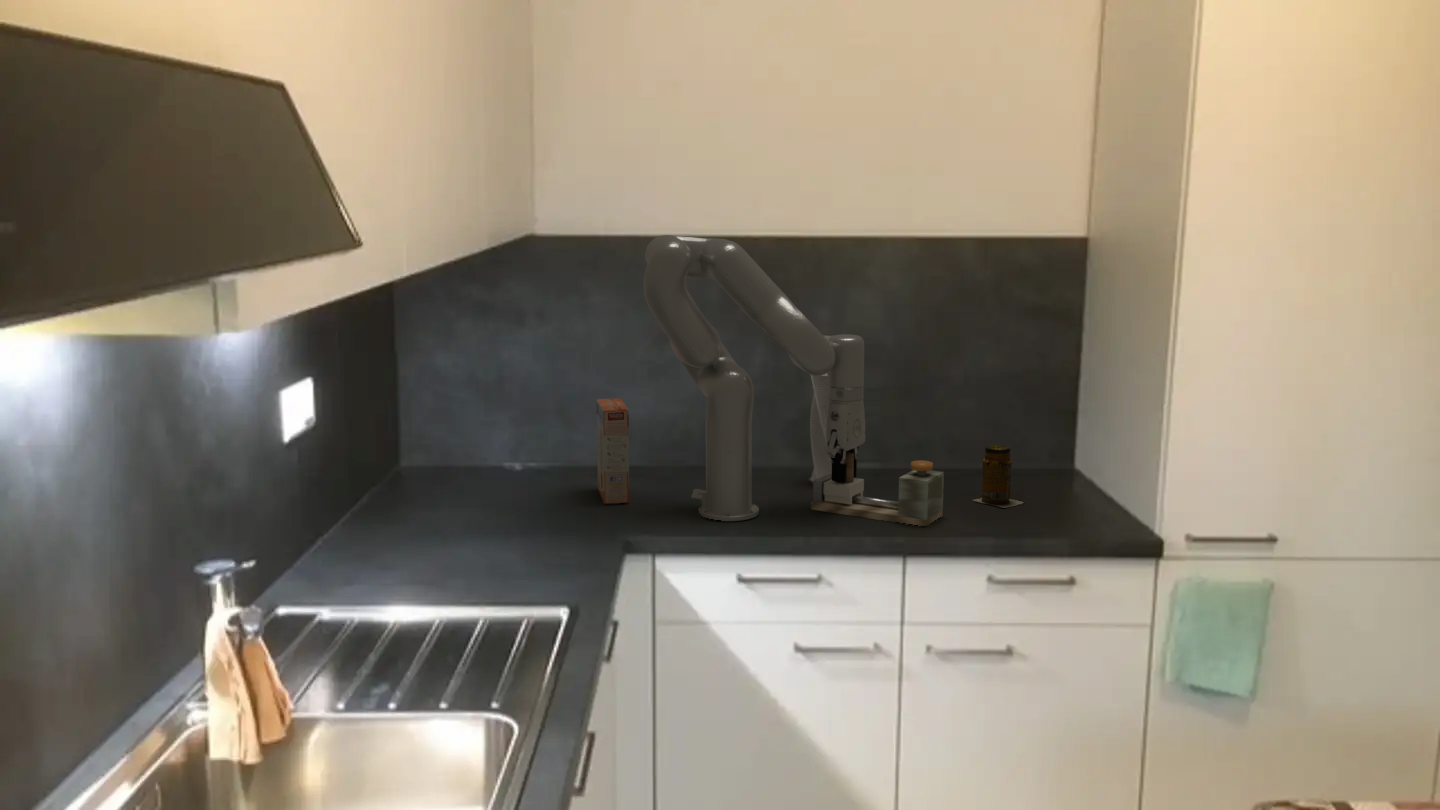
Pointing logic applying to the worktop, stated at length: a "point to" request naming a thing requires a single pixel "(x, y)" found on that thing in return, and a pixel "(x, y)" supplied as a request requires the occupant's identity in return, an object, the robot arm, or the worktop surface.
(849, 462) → the carriage
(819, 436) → the skyscraper
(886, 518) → the rail base
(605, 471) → the cracker box
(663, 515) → the worktop surface
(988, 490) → the condiment
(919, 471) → the button
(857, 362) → the robot arm
